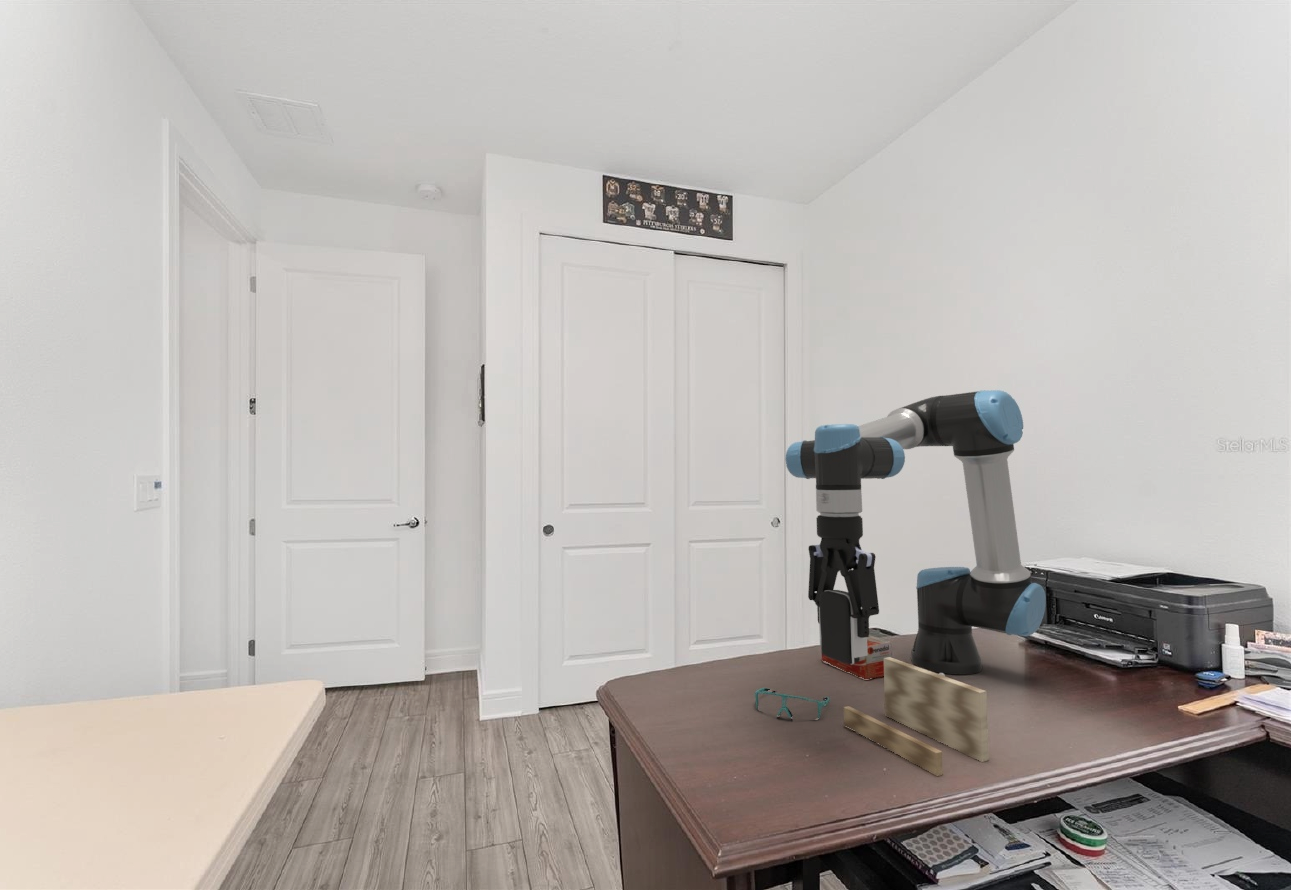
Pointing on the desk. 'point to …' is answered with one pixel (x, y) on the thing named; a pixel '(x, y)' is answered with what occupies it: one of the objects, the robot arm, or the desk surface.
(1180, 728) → the desk surface
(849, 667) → the medicine box
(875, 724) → the wooden boards
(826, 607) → the battery charger
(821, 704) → the sunglasses
